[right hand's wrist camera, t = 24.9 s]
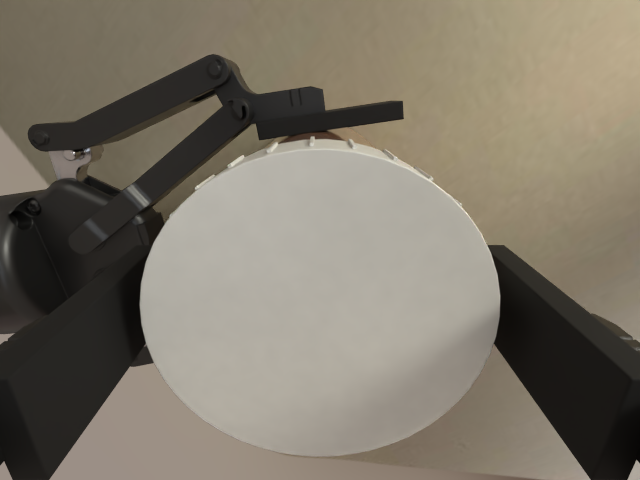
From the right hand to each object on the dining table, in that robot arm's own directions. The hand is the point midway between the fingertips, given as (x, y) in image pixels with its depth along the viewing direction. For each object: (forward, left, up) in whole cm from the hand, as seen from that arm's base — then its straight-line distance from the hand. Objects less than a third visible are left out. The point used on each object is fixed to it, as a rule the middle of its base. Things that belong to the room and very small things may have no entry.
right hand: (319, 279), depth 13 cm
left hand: (-1, +4, -6) cm, 8 cm away
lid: (0, 0, +3) cm, 3 cm away
